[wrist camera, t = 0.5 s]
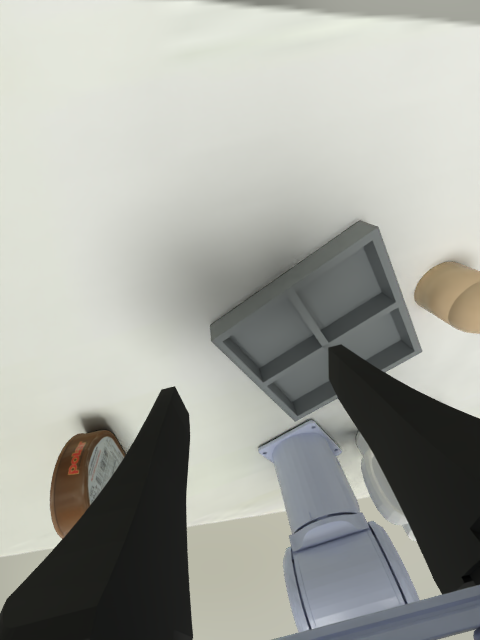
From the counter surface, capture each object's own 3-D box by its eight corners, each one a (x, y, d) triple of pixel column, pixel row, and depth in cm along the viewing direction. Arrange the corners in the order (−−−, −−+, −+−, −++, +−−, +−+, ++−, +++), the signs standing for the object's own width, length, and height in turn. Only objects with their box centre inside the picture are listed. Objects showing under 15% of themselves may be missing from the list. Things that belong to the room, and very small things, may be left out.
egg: (466, 288, 23) (539, 322, 18) (419, 315, 24) (477, 355, 19) (459, 251, 20) (541, 277, 16) (409, 282, 21) (471, 316, 17)
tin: (75, 415, 24) (23, 519, 17) (108, 410, 24) (71, 510, 17) (124, 489, 32) (103, 580, 25) (149, 484, 32) (135, 574, 25)
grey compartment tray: (405, 337, 25) (422, 351, 23) (288, 404, 28) (295, 421, 26) (359, 220, 18) (378, 227, 16) (210, 325, 21) (211, 341, 19)
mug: (441, 402, 32) (531, 490, 23) (405, 448, 37) (467, 534, 28) (353, 405, 30) (417, 505, 21) (327, 454, 35) (370, 549, 26)
